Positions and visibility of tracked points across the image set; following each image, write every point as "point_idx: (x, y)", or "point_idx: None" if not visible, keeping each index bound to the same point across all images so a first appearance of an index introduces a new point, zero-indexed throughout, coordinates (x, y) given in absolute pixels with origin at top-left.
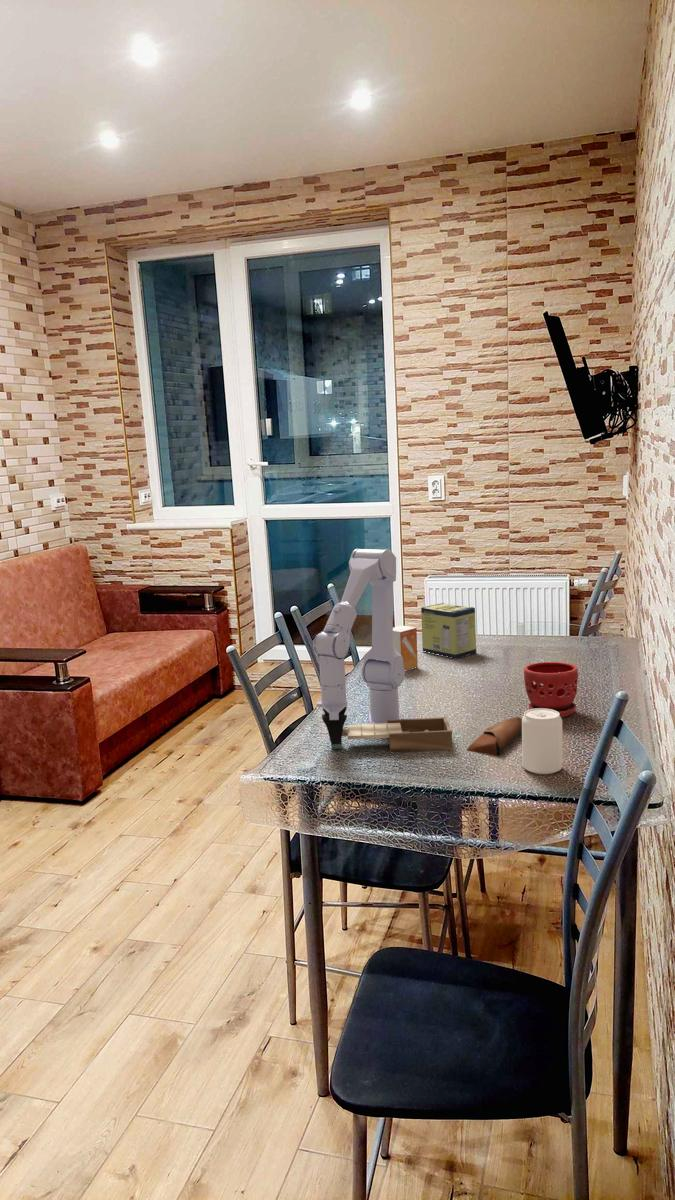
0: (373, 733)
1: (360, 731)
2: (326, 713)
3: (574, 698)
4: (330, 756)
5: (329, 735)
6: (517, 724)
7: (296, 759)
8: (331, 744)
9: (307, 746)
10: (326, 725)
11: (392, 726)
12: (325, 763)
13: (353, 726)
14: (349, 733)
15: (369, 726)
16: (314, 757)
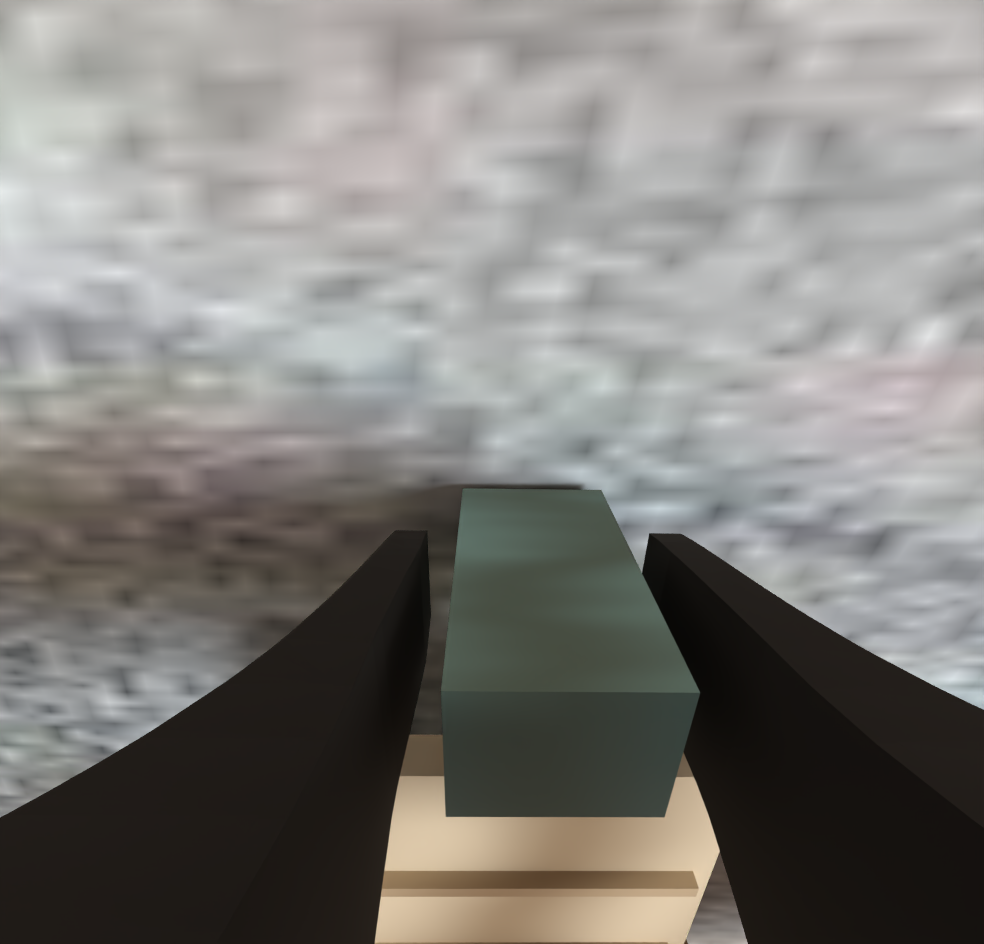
0: (398, 939)
1: (476, 868)
2: (965, 867)
3: None
4: (287, 471)
5: (333, 594)
6: None
7: (148, 12)
8: (462, 514)
9: (649, 187)
10: (122, 757)
11: None
12: (83, 423)
13: (670, 823)
14: (424, 790)
15: (617, 922)
16: (248, 296)
